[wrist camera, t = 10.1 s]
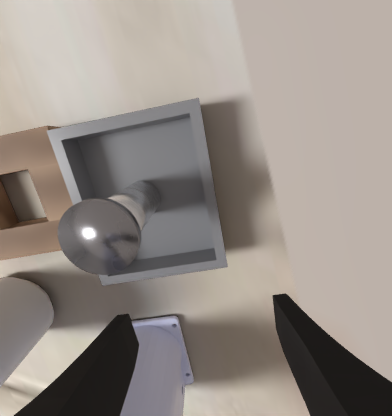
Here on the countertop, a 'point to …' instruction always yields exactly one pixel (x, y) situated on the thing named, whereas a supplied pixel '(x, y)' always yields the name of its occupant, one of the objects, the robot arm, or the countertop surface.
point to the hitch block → (46, 189)
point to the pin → (107, 228)
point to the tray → (154, 173)
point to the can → (21, 321)
